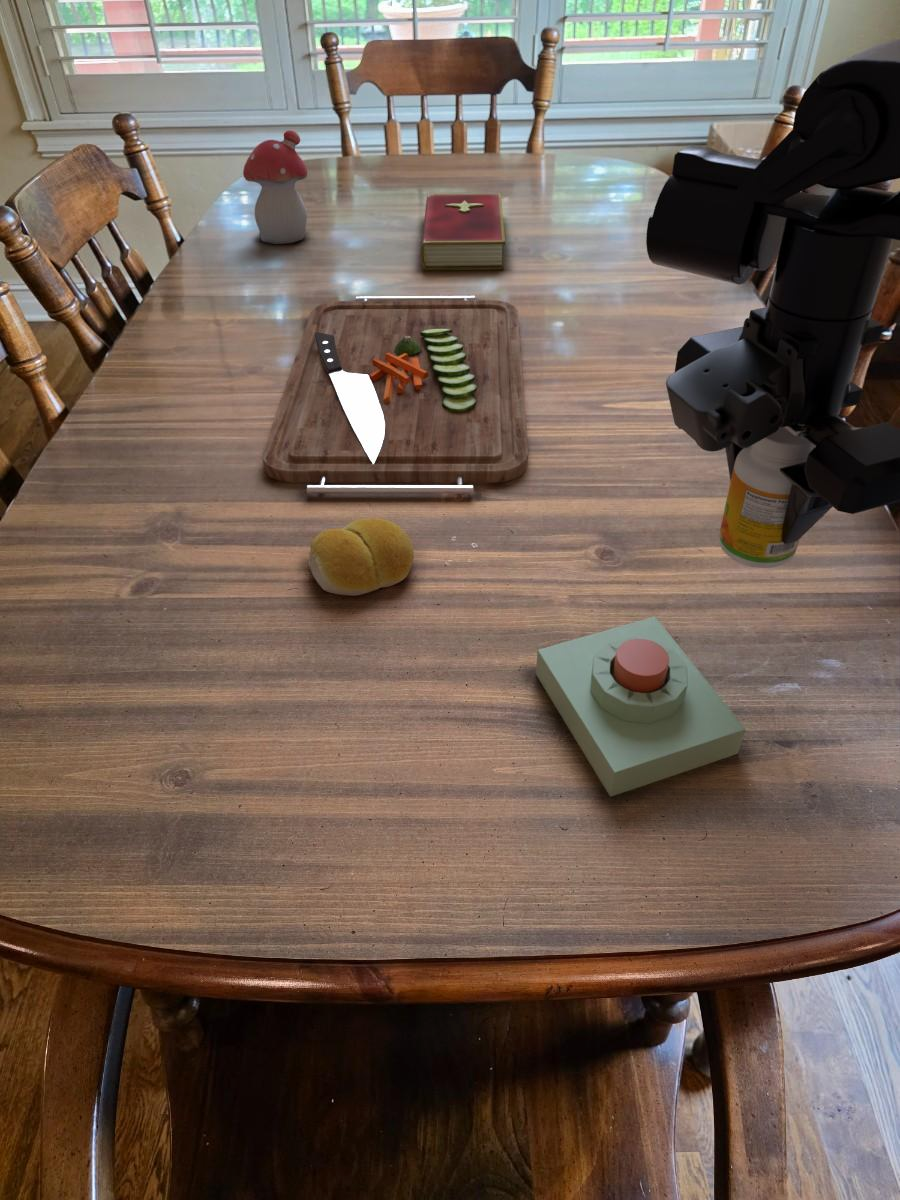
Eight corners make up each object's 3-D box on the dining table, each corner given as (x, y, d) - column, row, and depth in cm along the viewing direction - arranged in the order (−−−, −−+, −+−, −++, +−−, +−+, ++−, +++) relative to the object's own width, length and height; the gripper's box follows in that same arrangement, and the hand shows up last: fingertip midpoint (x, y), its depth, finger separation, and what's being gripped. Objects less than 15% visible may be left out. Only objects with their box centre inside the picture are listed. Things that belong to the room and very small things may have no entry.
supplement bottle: (730, 516, 65) (756, 400, 59) (803, 537, 63) (839, 418, 57) (707, 556, 62) (732, 437, 55) (784, 579, 60) (820, 458, 53)
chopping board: (530, 497, 83) (531, 470, 81) (253, 497, 84) (248, 470, 82) (515, 302, 117) (516, 279, 115) (317, 303, 117) (315, 281, 115)
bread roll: (429, 577, 75) (427, 541, 72) (332, 611, 72) (327, 574, 69) (389, 526, 80) (387, 490, 78) (298, 555, 78) (292, 519, 75)
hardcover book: (421, 270, 125) (420, 240, 123) (426, 219, 141) (425, 192, 138) (504, 269, 125) (505, 239, 122) (500, 218, 141) (501, 191, 138)
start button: (648, 650, 62) (652, 632, 61) (675, 685, 60) (679, 667, 59) (604, 663, 62) (606, 646, 60) (629, 699, 59) (632, 681, 58)
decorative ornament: (316, 230, 138) (304, 126, 128) (312, 245, 133) (299, 138, 123) (257, 231, 138) (241, 127, 128) (251, 246, 133) (233, 139, 123)
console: (650, 640, 69) (658, 598, 66) (737, 754, 60) (752, 712, 57) (535, 674, 66) (538, 632, 63) (610, 797, 58) (617, 755, 55)
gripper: (618, 267, 55) (598, 474, 65) (805, 401, 42) (742, 634, 52) (768, 241, 58) (725, 444, 68) (988, 358, 44) (893, 588, 55)
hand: (763, 518), depth 61 cm, fingers closed on supplement bottle, 5 cm apart
